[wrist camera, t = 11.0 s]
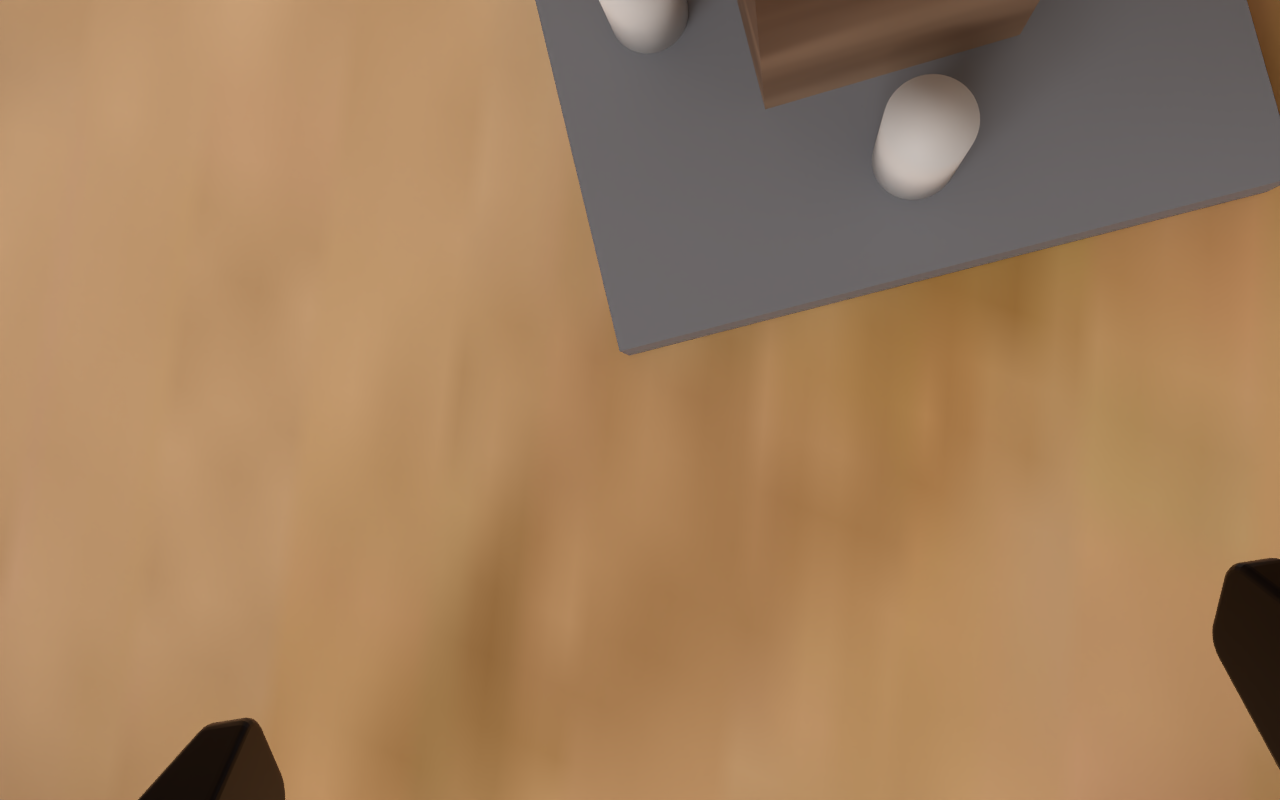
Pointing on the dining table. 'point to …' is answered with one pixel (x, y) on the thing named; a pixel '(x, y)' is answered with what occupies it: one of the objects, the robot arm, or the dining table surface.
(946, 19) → the walnut post
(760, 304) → the peg nest
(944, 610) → the dining table surface
